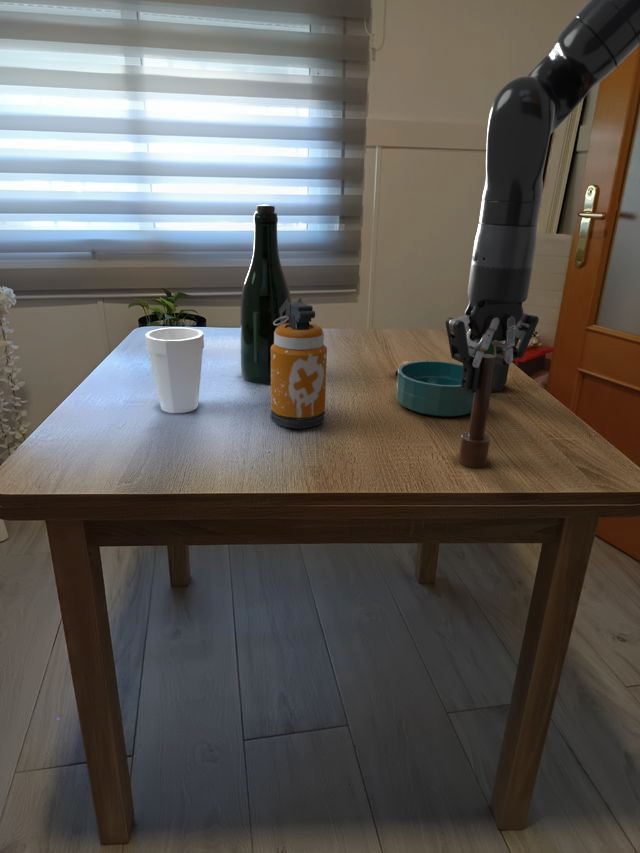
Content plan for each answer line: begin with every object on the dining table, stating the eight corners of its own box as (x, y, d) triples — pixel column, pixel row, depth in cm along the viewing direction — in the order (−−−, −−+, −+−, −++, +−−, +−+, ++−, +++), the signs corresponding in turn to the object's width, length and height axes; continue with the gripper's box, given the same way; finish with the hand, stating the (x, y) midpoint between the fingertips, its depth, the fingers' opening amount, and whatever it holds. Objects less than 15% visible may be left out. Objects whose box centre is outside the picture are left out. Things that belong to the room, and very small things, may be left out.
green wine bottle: (302, 376, 119) (305, 205, 106) (269, 388, 111) (268, 206, 98) (264, 366, 125) (263, 203, 112) (230, 377, 117) (224, 203, 104)
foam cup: (207, 397, 106) (204, 327, 101) (206, 415, 97) (202, 340, 92) (154, 398, 104) (148, 327, 99) (148, 417, 96) (141, 341, 91)
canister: (280, 434, 91) (281, 308, 83) (260, 410, 100) (259, 294, 92) (332, 427, 94) (337, 305, 86) (308, 405, 103) (311, 292, 96)
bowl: (491, 402, 108) (496, 371, 105) (457, 426, 96) (462, 392, 94) (419, 385, 116) (422, 356, 114) (380, 404, 105) (382, 373, 102)
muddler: (490, 461, 84) (507, 355, 78) (479, 470, 81) (496, 361, 75) (465, 453, 86) (479, 350, 80) (453, 462, 83) (468, 356, 77)
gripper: (474, 267, 67) (456, 404, 74) (566, 264, 72) (542, 392, 79) (438, 259, 73) (424, 386, 80) (525, 257, 79) (505, 376, 85)
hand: (483, 389), depth 79 cm, fingers open, 4 cm apart
